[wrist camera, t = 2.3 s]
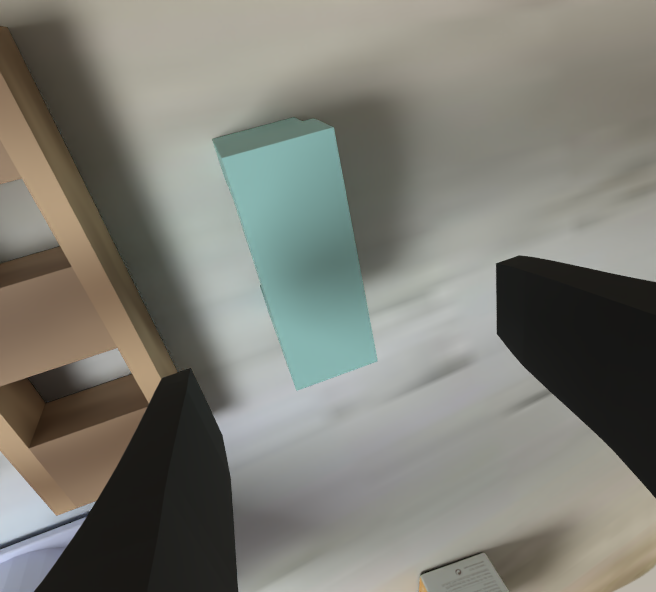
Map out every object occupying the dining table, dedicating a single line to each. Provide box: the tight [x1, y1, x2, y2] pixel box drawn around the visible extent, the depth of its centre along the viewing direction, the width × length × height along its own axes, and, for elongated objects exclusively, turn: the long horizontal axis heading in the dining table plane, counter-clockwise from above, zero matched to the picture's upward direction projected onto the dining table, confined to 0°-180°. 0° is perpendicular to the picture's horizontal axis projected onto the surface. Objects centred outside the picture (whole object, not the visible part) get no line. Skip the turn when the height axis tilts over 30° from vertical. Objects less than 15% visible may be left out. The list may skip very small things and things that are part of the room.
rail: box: [0, 26, 178, 516], centre depth 15 cm, size 16×6×2 cm, turn 12°
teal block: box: [212, 117, 377, 390], centre depth 16 cm, size 8×3×5 cm, turn 12°
